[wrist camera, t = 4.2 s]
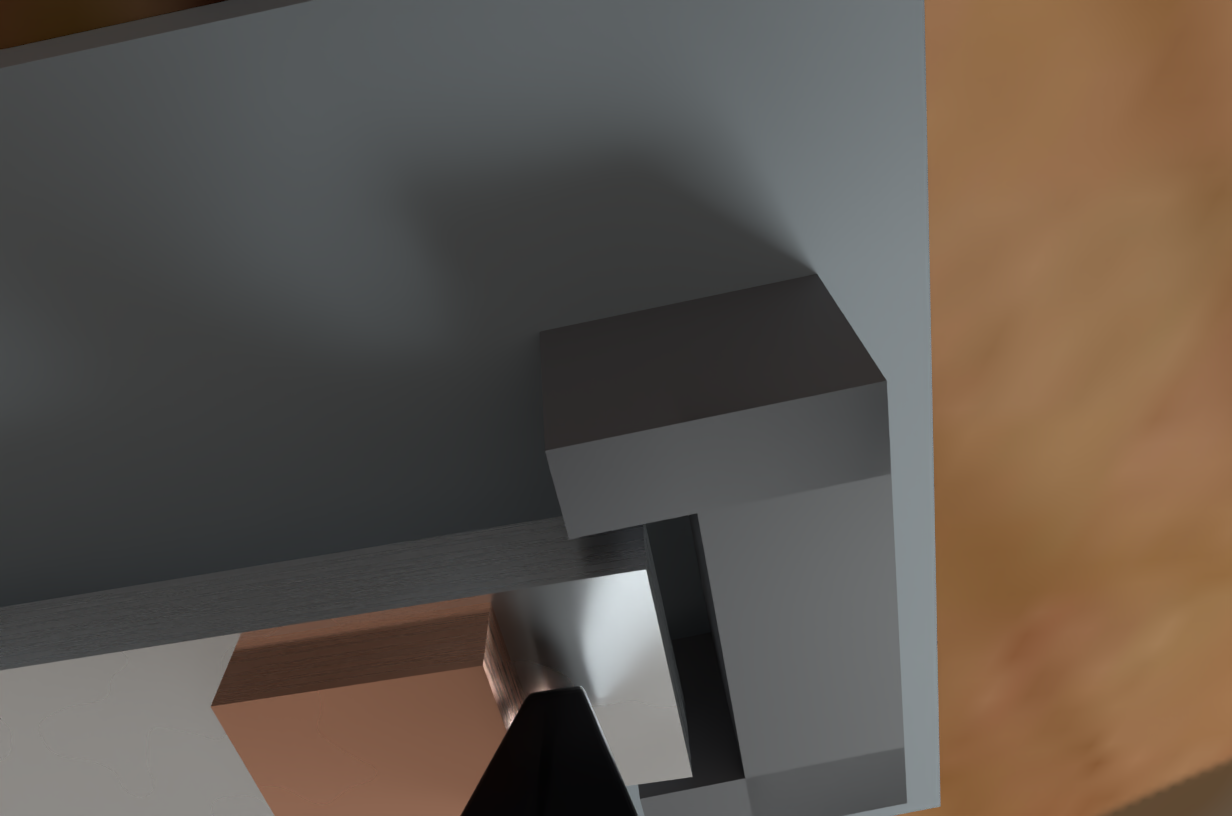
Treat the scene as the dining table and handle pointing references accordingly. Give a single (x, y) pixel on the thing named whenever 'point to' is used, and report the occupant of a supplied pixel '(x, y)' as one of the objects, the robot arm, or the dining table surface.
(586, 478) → the base plate
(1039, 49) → the dining table surface
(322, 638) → the light grey long bar
